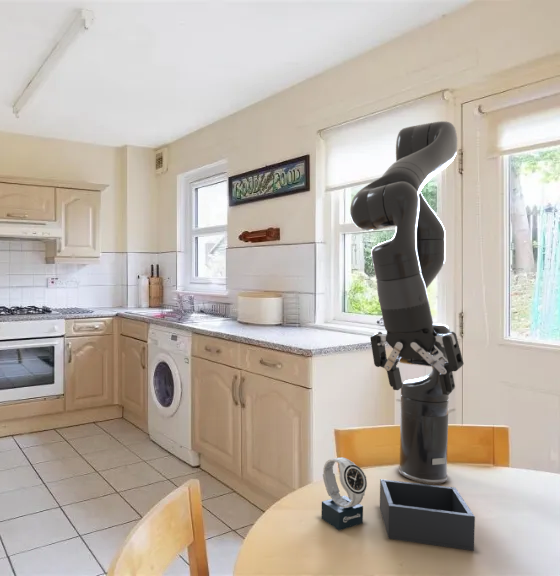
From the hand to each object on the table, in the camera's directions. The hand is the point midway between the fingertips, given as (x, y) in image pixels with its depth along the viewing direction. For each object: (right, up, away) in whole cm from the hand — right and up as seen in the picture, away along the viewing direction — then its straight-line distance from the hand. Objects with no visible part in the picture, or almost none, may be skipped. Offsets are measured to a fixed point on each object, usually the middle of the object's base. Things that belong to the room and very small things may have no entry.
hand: (421, 390), depth 83 cm
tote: (0, -24, 0) cm, 24 cm away
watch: (-13, -24, +2) cm, 27 cm away
